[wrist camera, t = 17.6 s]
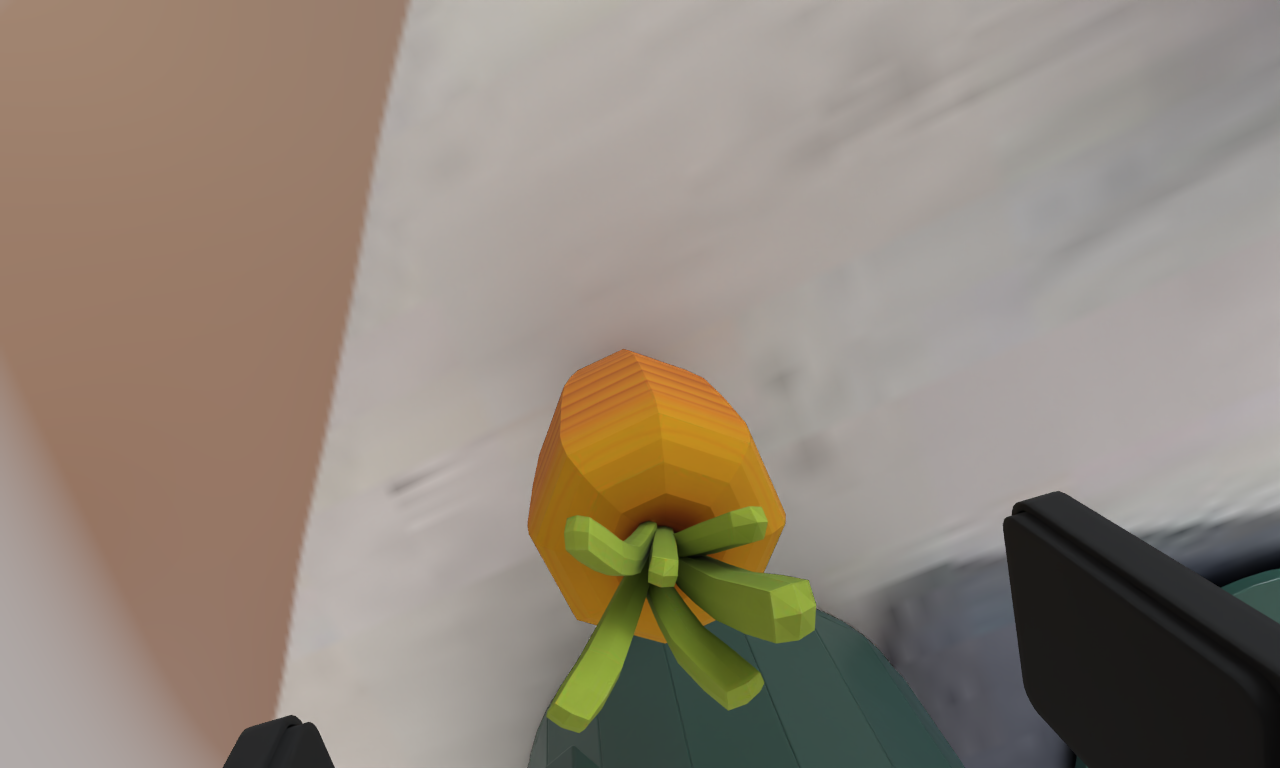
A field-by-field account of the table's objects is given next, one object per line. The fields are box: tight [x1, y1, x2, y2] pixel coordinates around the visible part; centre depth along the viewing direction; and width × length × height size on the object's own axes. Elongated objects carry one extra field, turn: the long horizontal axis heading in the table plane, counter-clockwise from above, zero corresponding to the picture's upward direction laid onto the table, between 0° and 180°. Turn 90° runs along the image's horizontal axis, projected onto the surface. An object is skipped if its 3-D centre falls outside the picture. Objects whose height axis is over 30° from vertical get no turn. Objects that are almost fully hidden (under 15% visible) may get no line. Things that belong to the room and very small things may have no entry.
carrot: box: [528, 349, 816, 733], centre depth 17 cm, size 5×5×15 cm
